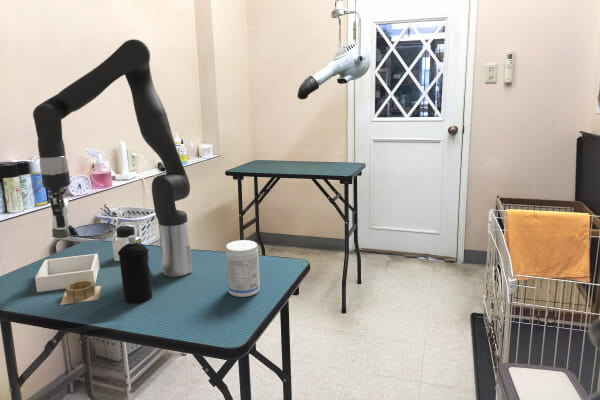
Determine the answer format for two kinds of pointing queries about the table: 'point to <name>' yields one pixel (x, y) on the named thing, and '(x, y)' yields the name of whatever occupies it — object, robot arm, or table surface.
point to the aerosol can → (135, 272)
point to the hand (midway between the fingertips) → (62, 225)
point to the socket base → (81, 292)
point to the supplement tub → (242, 268)
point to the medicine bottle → (123, 239)
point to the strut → (65, 231)
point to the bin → (66, 271)
